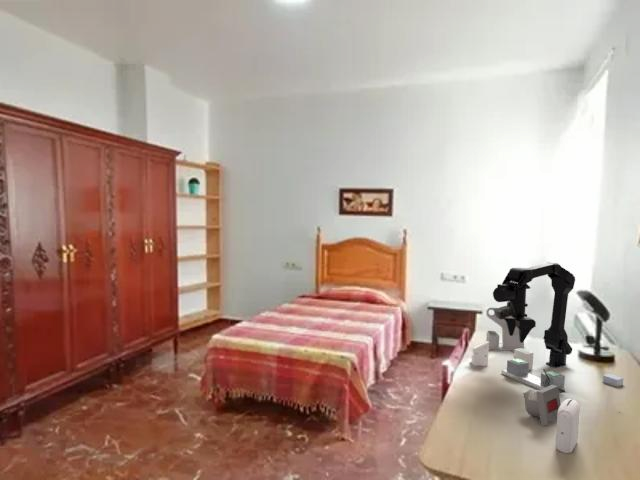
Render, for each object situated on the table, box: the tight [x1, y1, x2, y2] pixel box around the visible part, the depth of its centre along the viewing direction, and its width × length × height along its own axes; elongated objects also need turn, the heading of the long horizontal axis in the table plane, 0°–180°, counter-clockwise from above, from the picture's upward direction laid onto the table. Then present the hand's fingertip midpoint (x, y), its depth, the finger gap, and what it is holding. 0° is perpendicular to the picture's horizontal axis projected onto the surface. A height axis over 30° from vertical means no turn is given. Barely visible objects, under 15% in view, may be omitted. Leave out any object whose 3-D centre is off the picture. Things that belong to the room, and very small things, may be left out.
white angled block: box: [471, 341, 490, 367], centre depth 187 cm, size 4×10×9 cm, turn 84°
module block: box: [513, 348, 534, 371], centre depth 185 cm, size 4×6×7 cm, turn 26°
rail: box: [501, 358, 566, 394], centre depth 168 cm, size 7×22×6 cm, turn 26°
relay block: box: [602, 373, 624, 388], centre depth 166 cm, size 5×4×4 cm
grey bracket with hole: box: [485, 307, 528, 352], centre depth 212 cm, size 17×10×18 cm, turn 80°
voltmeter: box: [523, 368, 562, 426], centre depth 145 cm, size 27×11×10 cm, turn 162°
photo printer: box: [554, 398, 580, 454], centre depth 122 cm, size 10×4×12 cm, turn 140°
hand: (516, 338), depth 178 cm, fingers open, 9 cm apart
